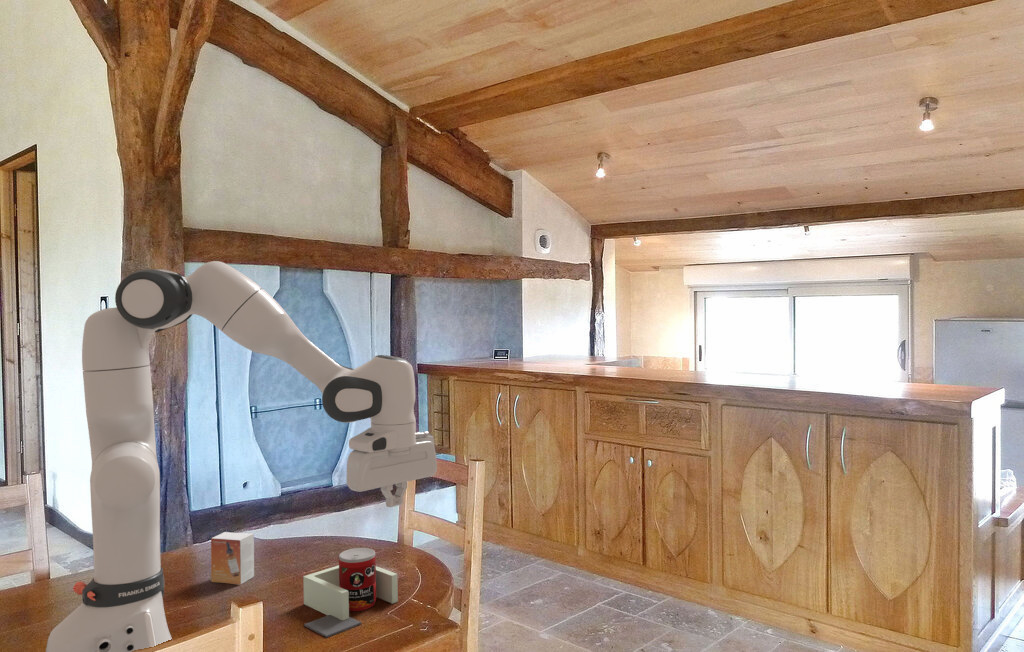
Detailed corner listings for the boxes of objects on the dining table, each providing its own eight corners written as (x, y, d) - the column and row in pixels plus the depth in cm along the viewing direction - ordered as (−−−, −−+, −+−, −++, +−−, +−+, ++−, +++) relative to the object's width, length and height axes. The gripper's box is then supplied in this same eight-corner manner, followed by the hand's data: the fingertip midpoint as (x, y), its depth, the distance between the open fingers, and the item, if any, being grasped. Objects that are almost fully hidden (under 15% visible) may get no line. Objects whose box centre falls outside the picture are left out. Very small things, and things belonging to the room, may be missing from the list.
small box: (210, 582, 169) (209, 538, 169) (225, 574, 175) (224, 531, 174) (241, 585, 167) (240, 540, 167) (255, 576, 173) (254, 532, 173)
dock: (342, 622, 146) (342, 592, 146) (303, 604, 156) (303, 576, 155) (397, 601, 156) (397, 573, 156) (358, 585, 166) (357, 559, 166)
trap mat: (326, 637, 139) (326, 635, 139) (304, 626, 144) (304, 624, 144) (361, 624, 145) (361, 622, 145) (338, 613, 150) (338, 611, 150)
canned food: (338, 613, 150) (337, 560, 150) (341, 598, 158) (340, 548, 158) (376, 610, 152) (375, 558, 151) (376, 595, 159) (375, 546, 159)
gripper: (423, 428, 154) (424, 493, 154) (341, 441, 139) (342, 513, 139) (443, 431, 150) (443, 498, 150) (360, 445, 135) (361, 519, 135)
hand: (394, 505), depth 144 cm, fingers closed
